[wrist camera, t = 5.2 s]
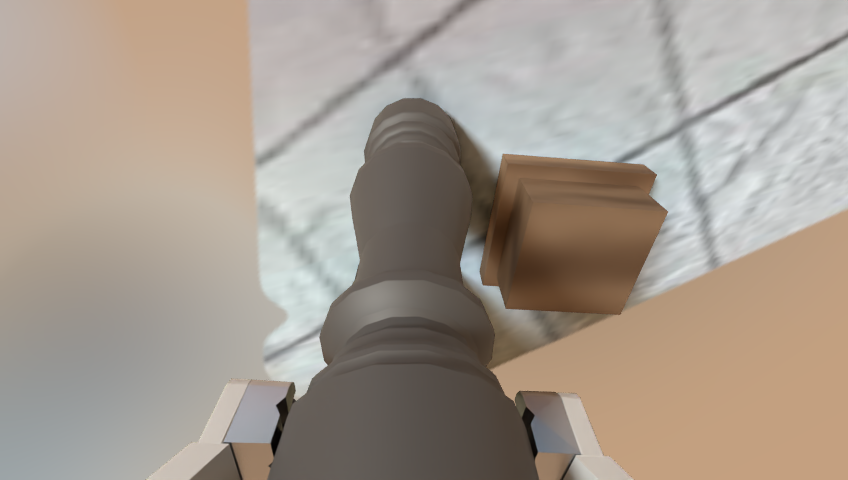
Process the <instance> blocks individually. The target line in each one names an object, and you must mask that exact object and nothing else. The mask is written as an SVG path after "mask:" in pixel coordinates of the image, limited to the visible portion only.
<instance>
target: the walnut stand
mask: <svg viewBox="0 0 848 480" xmlns="http://www.w3.org/2000/svg"><path fill="white" fill-rule="evenodd" d="M656 176H657V174H655V173H654V172H653V171H651V170H650V169H649V168H647V167H646V166H645V165H641V164H628V163H615V162H602V161H589V160H576V159H563V158H550V157H537V156H524V155H511V154H503V156H502V161H501V166H500V171H499V176H498V181H497V186H496V191H495V196H494V201H493V206H492V211H491V216H490V221H489V226H488V231H487V237H486V242H485V247H484V252H483V257H482V262H481V267H480V275H481V280H482V284H483V285H487V286H499V287H500V291H501V294H502V298H503V301H504V305H505V308H506V309H522V310H541V311H560V312H579V313H598V314H617V315H620V314H621V312H622V310H623V308H624V305H625V303H626V301H627V299H628V297H629V295H630V293H631V290H632V288H633V286H634V284H635V282H636V280H637V278H638V275H639V273H640V271H641V269H642V267H643V265H644V263H645V260H646V258H647V256H648V254H649V252H650V250H651V247H652V245H653V243H654V241H655V239H656V237H657V235H658V232H659V230H660V228H661V226H662V224H663V222H664V220H665V217H666V215H667V213H668V211H667V210H666V209H664V208H663V207H662V206H661V205H660V204H659V203H657V202H656V201H655V200H654V199H653V198H652V197H650V196H649V192H650V190H651V188H652V185H653V183H654V180H655V178H656Z"/></svg>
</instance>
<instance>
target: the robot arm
mask: <svg viewBox="0 0 848 480" xmlns="http://www.w3.org/2000/svg"><path fill="white" fill-rule="evenodd" d="M295 391H296V390H295V385H294V382H282V381H266V380H252V379H231V380H230V381H229V382H228V383H227V384H226V386H225V388H224V390H223V392H222V394H221V396H220V398H219V400H218V402H217V404H216V406H215V408H214V410H213V412H212V415H211V416H210V419H209V421H208V423H207V425H206V427H205V429H204V431H203V433H202V435H201V437H200V439H199V441H198V442H191V443H190V444H189V445H187V446H186V447H185V448H184V449H183V450H181V451H180V452H179V453H178V454H176V455H175V456H174V457H173V458H172V459H170V460H169V461H168V462H167V463H166V464H164V465H163V466H162V467H161V468H159V469H158V470H157V471H156V472H154V473H153V474H152V475H151V476H150V477H148V478H147V479H146V480H267V478H268V475H269V472H270V469H271V465H272V462H273V459H274V456H275V453H276V449H277V446H278V443H279V440H280V436H281V433H282V430H283V427H284V425H285V422H286V419H287V417H288V414H289V411H290V409H291V406H292V404H293V403H294V402H296V400H295V399H293V398H294V394H295ZM515 403H516V408H517V410H518V412H519V414H520V416H521V418H522V420H523V422H524V425H525V427H526V429H527V433H528V437H529V441H530V445H531V449H532V453H533V457H534V461H535V464H536V468H537V472H538V476H539V480H634V479H633V478H631V476H630V475H629V474H628V473H626V472H625V471H624V470H623V469H622V468H621V467H620V466H619V465H618V464H617V463H616V462H615V461H614V460H613V459H612V458H611V457H610V456H604V455H603V453H602V450H601V448H600V445H599V443H598V440H597V438H596V435H595V433H594V431H593V428H592V426H591V423H590V421H589V418H588V416H587V413H586V411H585V409H584V406H583V404H582V401H581V399H580V397H579V396H578V395H577V394H576V393H556V392H538V391H519V392H518V393H517V394H516V397H515Z"/></svg>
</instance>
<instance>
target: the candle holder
mask: <svg viewBox="0 0 848 480" xmlns="http://www.w3.org/2000/svg"><path fill="white" fill-rule="evenodd" d="M364 155H365V164H364V165H363V166H362V167H361V168H360V169H359V170H358V173H357V176H356V179H355V182H354V185H353V188H352V191H351V194H350V202H351V211H352V219H353V224H354V229H355V234H356V240H357V246H358V251H359V257H360V263H359V267H358V272H357V277H356V282H355V283H354V284H353V285H352V286H350V287H349V288H348V289H347V290H346V291H345V292H344V293H343V294H341V295H340V296H339V297H338V298H337V299H336V300H335V301H334V302H333V303H332V304H331V306H330V309H329V312H328V314H327V317H326V320H325V322H324V325H323V328H322V330H321V333H320V342H321V347H322V352H323V357H324V361H325V362H326V364H327V365H328V366H327V367H325V368H324V369H323V370H321V371H320V372H319V373H318V374H317V375H316V376H315V377H313V378H312V380H311V383H310V385H309V388H308V390H307V393H306V394H305V395H303V396H302V397H301V398H300V399H298V400H297V401H296V402H294V403H293V404H292V406H291V409H290V411H289V414H288V417H287V419H286V422H285V425H284V427H283V430H282V433H281V436H280V440H279V443H278V446H277V449H276V453H275V456H274V459H273V462H272V465H271V469H270V472H269V475H268V478H267V480H539V476H538V472H537V468H536V464H535V461H534V457H533V453H532V449H531V445H530V441H529V437H528V433H527V429H526V427H525V425H524V422H523V420H522V418H521V416H520V414H519V412H518V410H517V408H516V406H515V403H514V401H513V400H511V399H510V398H508V397H507V396H505V394H504V392H503V390H502V388H501V385H500V383H499V381H498V379H497V378H496V376H495V375H494V374H493V373H492V372H491V371H490V370H489V369H487V368H486V366H487V364H488V363H489V362H490V360H491V359H492V352H493V344H494V336H495V334H494V329H493V327H492V324H491V322H490V320H489V318H488V315H487V313H486V311H485V309H484V306H483V304H482V302H481V301H480V299H479V298H477V297H476V296H475V295H474V294H472V293H471V292H470V291H469V290H468V289H466V288H465V287H464V286H463V281H462V274H461V268H460V261H461V256H462V252H463V248H464V243H465V239H466V235H467V231H468V227H469V223H470V218H471V209H472V191H471V188H470V185H469V183H468V180H467V178H466V175H465V172H464V170H463V168H462V167H461V166H460V157H461V149H460V145H459V142H458V138H457V134H456V132H455V129H454V126H453V124H452V121H451V118H450V117H449V116H448V115H447V114H446V113H445V112H444V111H443V110H442V109H441V108H440V107H439V106H438V105H436V104H434V103H431V102H429V101H426V100H424V99H422V98H407V99H401V100H399V101H397V102H394V103H392V104H390V105H387V106H386V107H385V108H384V109H383V111H382V112H381V113H380V114H379V115H378V116H377V117H376V118H375V120H374V123H373V126H372V129H371V132H370V135H369V138H368V141H367V144H366V147H365V150H364Z"/></svg>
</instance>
